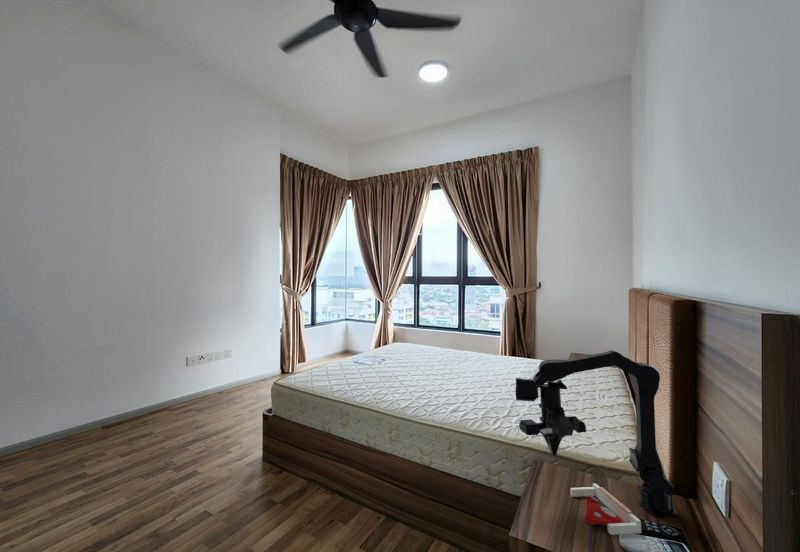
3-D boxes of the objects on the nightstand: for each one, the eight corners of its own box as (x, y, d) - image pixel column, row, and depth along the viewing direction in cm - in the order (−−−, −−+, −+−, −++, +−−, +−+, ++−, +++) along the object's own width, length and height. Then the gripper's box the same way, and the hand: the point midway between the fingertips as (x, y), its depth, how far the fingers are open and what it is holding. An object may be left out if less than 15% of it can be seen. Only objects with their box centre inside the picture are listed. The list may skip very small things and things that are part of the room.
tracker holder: (633, 522, 89) (609, 523, 84) (628, 538, 89) (603, 540, 85) (591, 488, 100) (568, 488, 96) (586, 503, 100) (563, 503, 96)
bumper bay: (596, 493, 104) (595, 482, 104) (641, 533, 86) (640, 518, 86) (570, 494, 103) (570, 483, 103) (610, 534, 85) (609, 520, 86)
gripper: (534, 411, 97) (537, 469, 96) (596, 408, 99) (600, 465, 97) (517, 401, 108) (519, 452, 107) (573, 398, 110) (576, 449, 108)
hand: (553, 455), depth 105 cm, fingers closed
